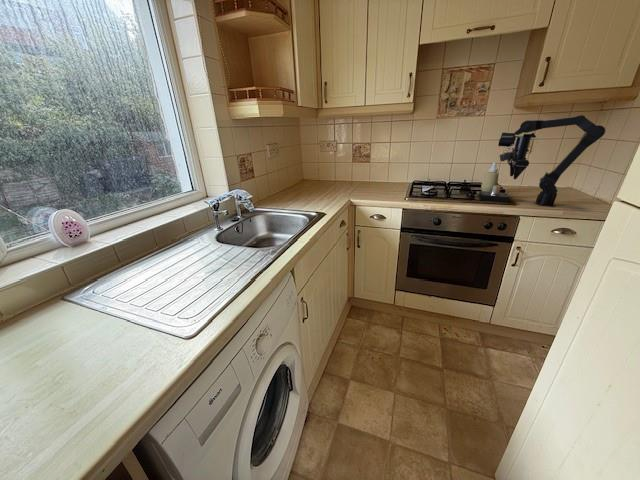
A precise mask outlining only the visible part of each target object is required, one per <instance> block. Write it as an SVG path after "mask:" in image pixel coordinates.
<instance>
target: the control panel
mask: <svg viewBox="0 0 640 480" xmlns="http://www.w3.org/2000/svg"><path fill="white" fill-rule="evenodd" d="M478 198H479V201H484V202H485V201H487V202H495V203H497V202H498V203H508V204H509V201H510V198H511V197H510V195H508V193H507V192H499V195H493V194H490V192H486V191H482V190H479V194H478Z"/></svg>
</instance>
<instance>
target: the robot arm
mask: <svg viewBox="0 0 640 480" xmlns="http://www.w3.org/2000/svg"><path fill="white" fill-rule="evenodd" d="M568 126H577V127H578V128H579V129H581V130H582V131H583V132H584V133H583V135H582V136H581V137H580V139H579V141H578V143H577V144H576V145H575V146H574V148H572V149H571V151H569V152H568V154H567V155H566V156H565V157H564V158H563V159H562V160H561V161H560V162H559V163H558V164H557V166H556V167H555V168H554V169H552V170H551V171H550V172H548V171H545V173H544V174H543V176H542V177H540V178H539V183H538V186H539V189H541V190H542V191H541V190H540V191H539V193H538V194H537V197H536V199H535V203H536V204H537V205H539V206H547V207H555V201H556V198H557V196H558V192H559V190H558V187H557V186H556V183H558V181H559V179H560V177H561V175H562V174H564V172H565V171H566V170H567V169H568V168H569V167H570V166H571V165H572V164H573V163H574V162H575V161H576V160H577V159H578V157H580V156H581V155H582V154H583V153H584V152H585V150H587V148H588V147H590V146H592V145H593V144H594V143H596V142H598V140H600V139H601V138H602V137H603V136H604V135H605V134H606V127H604V126H603V125H599V124H597V125H596V123H594V122H592V121H591V120H590V119H588V118H587V117H586V116H585V115H583V114H579V115H576V116H568V117H561V118H552V119H546V120H543V119H542V120H541V119H538V120H537V119H528V120H524V121H523V122H521V124H520V126H519V128H518V129H517V130H515V131H514V132H502V133H501V135H500V138H499V139H498V145H497V146H498V147H509V148H511V147H512V146H513V145H514V147H513V149H512V150H511V151H509V152H508V151H506V152H503V153H501V154H499V161H500V162H505V161H506V162H507V164H508V165H509V176H510V177H513V180H517V179H518V178H519V177H520V175H521V174H522V173H523V172H524V171H525V169H527V168H528V167H529V166H530V161H529V160H528V159H527V154H528V152H529V150H530V149H529V147H530V143H531V140H532V139H533V138H537V135H535V131H538V130H543V129H550V128H557V127H568ZM531 132H532V133H531ZM523 133H524V134H523ZM522 134H523V135H522Z"/></svg>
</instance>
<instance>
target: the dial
mask: <svg viewBox="0 0 640 480" xmlns="http://www.w3.org/2000/svg"><path fill="white" fill-rule="evenodd" d="M501 188H502V185H499V184H497V185H492V186H491V190H490V194H493V195H499V193H501Z"/></svg>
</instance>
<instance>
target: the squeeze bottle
mask: <svg viewBox="0 0 640 480" xmlns="http://www.w3.org/2000/svg"><path fill="white" fill-rule="evenodd" d="M498 170H499V169H498V168H497V161H493V164H492V166H491V167H490V168H488V170H487V171H486V172H485V174H484V176H483V180H482V183H481V186H480V188H481V191H486V192H490V190H491V186H492V185H498V182H499V175H500V174H499V172H498Z"/></svg>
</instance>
